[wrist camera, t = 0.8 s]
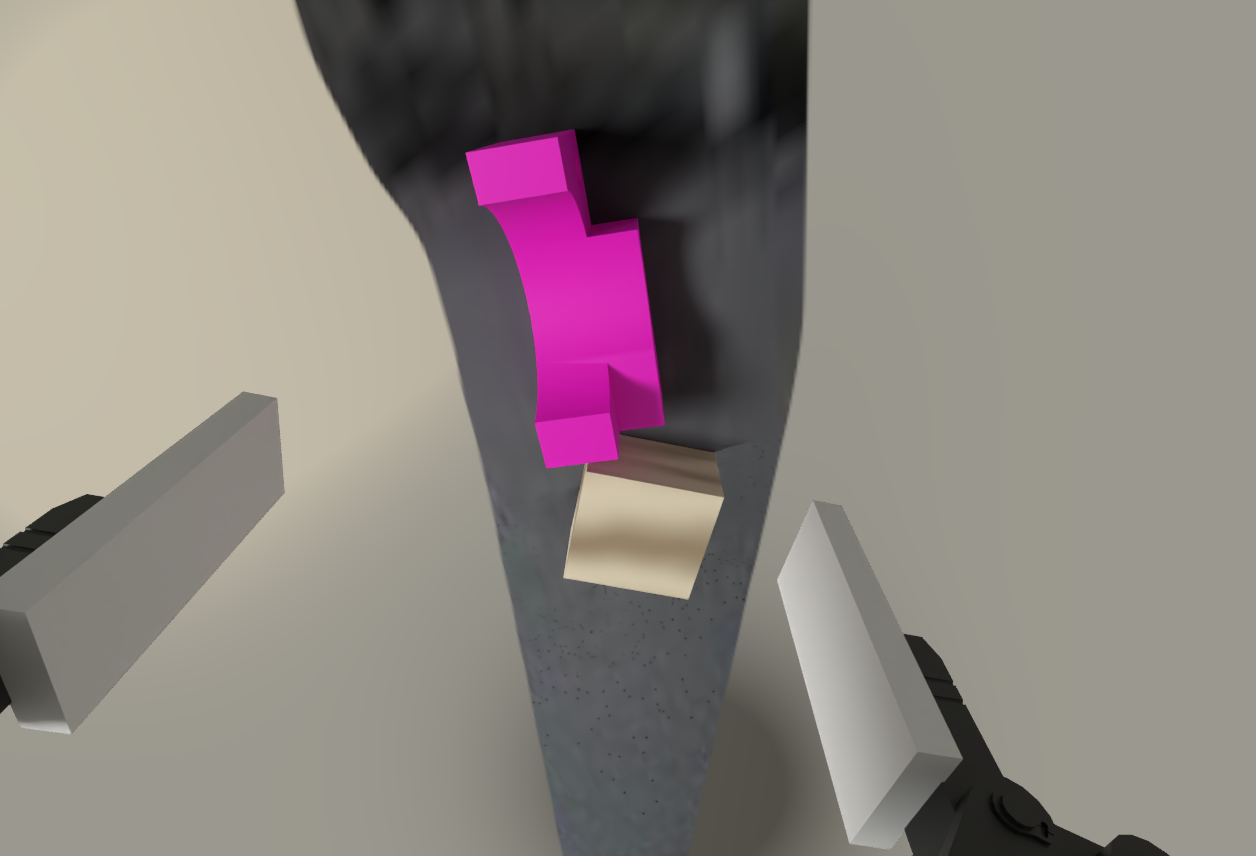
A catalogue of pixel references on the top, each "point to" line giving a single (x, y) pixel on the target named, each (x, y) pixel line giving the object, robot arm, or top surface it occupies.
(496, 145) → the toy block
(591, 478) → the riser
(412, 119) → the top surface
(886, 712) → the robot arm
